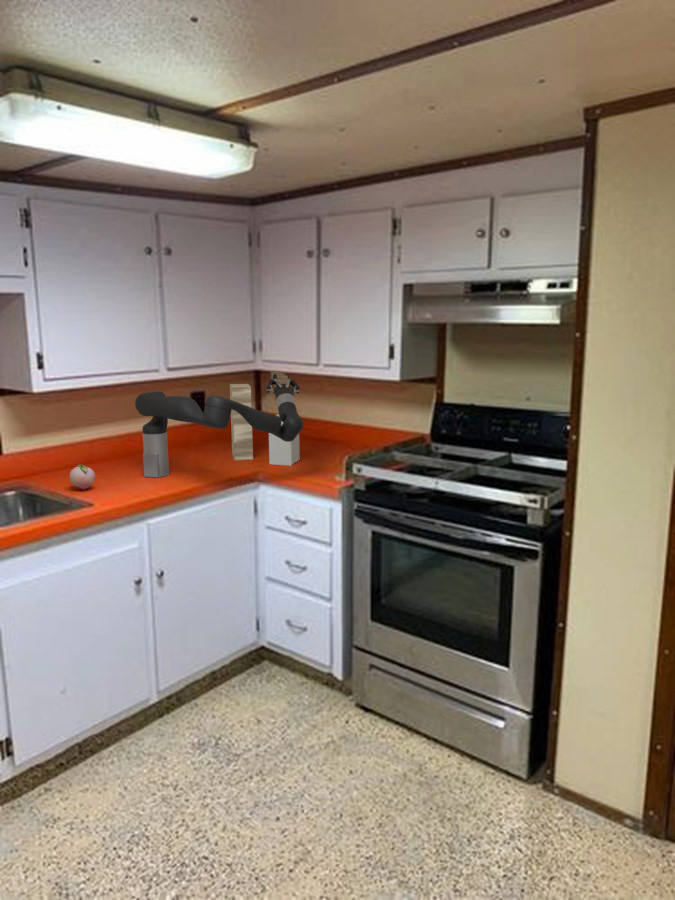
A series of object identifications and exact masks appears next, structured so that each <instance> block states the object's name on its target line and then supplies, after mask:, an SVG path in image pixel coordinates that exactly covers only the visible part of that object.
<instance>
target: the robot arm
mask: <svg viewBox="0 0 675 900" xmlns="http://www.w3.org/2000/svg"><path fill="white" fill-rule="evenodd" d="M284 374H285V375H286V376H288V382H287V383H286V384H280V382H278V381H277V376H276V374H274V375H273V380H272V379H271V378H270V379H271V380H270V379H269V381H268V384H267V385H266V393H267V394H268V393H271V392H272V393H273V394H274V398H275V403H276V409H277V411H278V414H279V416H277V415H276V414H273V413H268V412H264V411H261V410H258V409H256V408H253V407H252V406H251V407H252V408H251V407H248V406H246V405H243V404H241V403H238V402H235V401H233V400H230V398H227V397H223V396H219V395H209V396H208V397H206V401H205V404H204V409H203V411H202V409H201V407H200V405H199V404H198V403H197V402H196V401H195V400H194V399H193V398H192V397H189V396H183V395H182V396H181V395H168V396H166V394H165V393H164V392H162V391H161V390H160V391H158V390H157V391H149V392H148V391H147V392H143V393H139V395H138V396H137V397H136V398H135V400H134V401H135V402H134V404H135V405H134V407H135V409H136V411H137V412H138V414H140V415H141V416H144V417H152V418H151V419H150V421H148V422H147V423H145V424H143V426H142V429H141V430H142V443H143V444H142V445H143V453H142V458H143V459H142V461H143V474H144V475H143V476H144V478H145V477H146V478H156V479H157V478H161V477H166V476H169V475H170V468H169V467H170V464H169V451H168V450H169V449H168V432H167V431H168V429H167V428H168V423H169V420H173V421H178V422H184V423H191V424H192V423H193V424H198V425H201V426H205V427H209V428H212V429H218V430H220V429H222V430H223V429H226V428H228V426H229V423H230V420H231V410H234V411H236V412H238V413H239V414H240V415H241V416H242V417H243V418H244V419H245V420H246V421H247V422H248V423H249V424H250V425H251V426H252V429H254V430H256V431H259V432H264V433H268V434H269V433H271V434H273V435H275V436H277V437H278V438H280V439H282V440H283V441H286V442H290V441H293V440H294V439H295V438H296V436H297V435H298V434H299V435H300V433H301V431H302V430H303V428H304V420H303V419H302V418H301V417H300V416H301V415H300V414H299V413H298V412H297V411H298V410H297V407H296V406H297V403H296V402H297V401H296V399H295V394H294V393H296V394H299V393H300V390H301V387H300V386H299V384H298V383H297V382H296V380H294V379H292V380H291V379H290V375H288V374H287V373H284ZM273 386H274V388H273ZM281 421H282V422H283V424H282V425H281Z"/></svg>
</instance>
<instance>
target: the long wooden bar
mask: <svg viewBox="0 0 675 900" xmlns="http://www.w3.org/2000/svg"><path fill="white" fill-rule="evenodd" d="M274 374H276V376H277V381H278V382H280V384H286V383H287V382H288V376H286V375H285V374H286V373H283V371H280V370H270V379H269V381H270V380H271V379H272V380H273V375H274Z"/></svg>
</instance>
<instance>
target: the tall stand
mask: <svg viewBox="0 0 675 900" xmlns="http://www.w3.org/2000/svg"><path fill="white" fill-rule="evenodd" d="M229 396H230V397H229V399H230V400H233V401H235V402H238V403H241V404H243V405H246V406H248V407H251V408H253V407H252V386H251V385H250V384H249V383H233V384H232V383H230V384H229ZM230 420H231V421H230V422H231V424H230V425H231V428H230V429H231V451H232V452H231V453H232V454H231V455H232V458H233V459H234V461H247V460H254V446H253V427H252V426H251V425H250V424H249V423H248V422H247V421H246V420H245V419H244V418H243V417H242V416H241V415H240V414H239V413H238V412H236V411H234V410H231V415H230Z"/></svg>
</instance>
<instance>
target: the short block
mask: <svg viewBox="0 0 675 900" xmlns="http://www.w3.org/2000/svg"><path fill="white" fill-rule="evenodd" d="M275 415H277V416H279V413H278V414H277V413H276V414H275ZM282 424H283V422H282V421H281V425H282ZM268 454H269V455H268V457H269V460H268V461H269V465H278V466H291V465H292V464H293V465H295V464H296V463H295V462H297V461H298V460H300V433H299V434H298V435H297V436H296V438H295V439H294V440H293V441H290V442H286V441H283V440H282V439H280V438H278V437H277V436H275V435H273V434H271V433H268ZM298 462H299V461H298ZM298 462H297V463H298ZM294 463H295V464H294ZM293 465H292V466H293Z"/></svg>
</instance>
